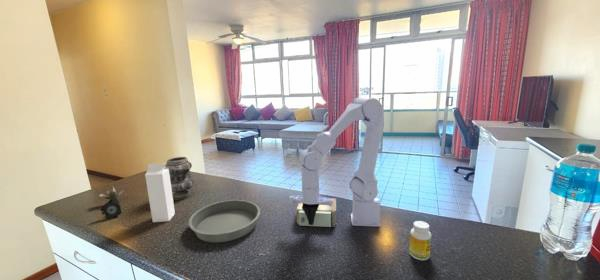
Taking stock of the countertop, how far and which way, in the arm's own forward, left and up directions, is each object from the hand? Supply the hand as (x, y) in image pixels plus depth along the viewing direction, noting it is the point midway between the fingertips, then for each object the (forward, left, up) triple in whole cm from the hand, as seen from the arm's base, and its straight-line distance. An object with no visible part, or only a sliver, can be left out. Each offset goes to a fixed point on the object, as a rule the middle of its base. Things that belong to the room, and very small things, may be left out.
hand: (311, 223), depth 86 cm
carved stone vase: (+64, -25, -3) cm, 69 cm away
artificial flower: (+87, -10, -3) cm, 88 cm away
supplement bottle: (-32, +10, -3) cm, 34 cm away
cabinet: (-1, -9, -3) cm, 9 cm away
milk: (+58, -4, -3) cm, 58 cm away
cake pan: (+31, -1, -3) cm, 31 cm away
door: (-2, -2, -2) cm, 4 cm away
